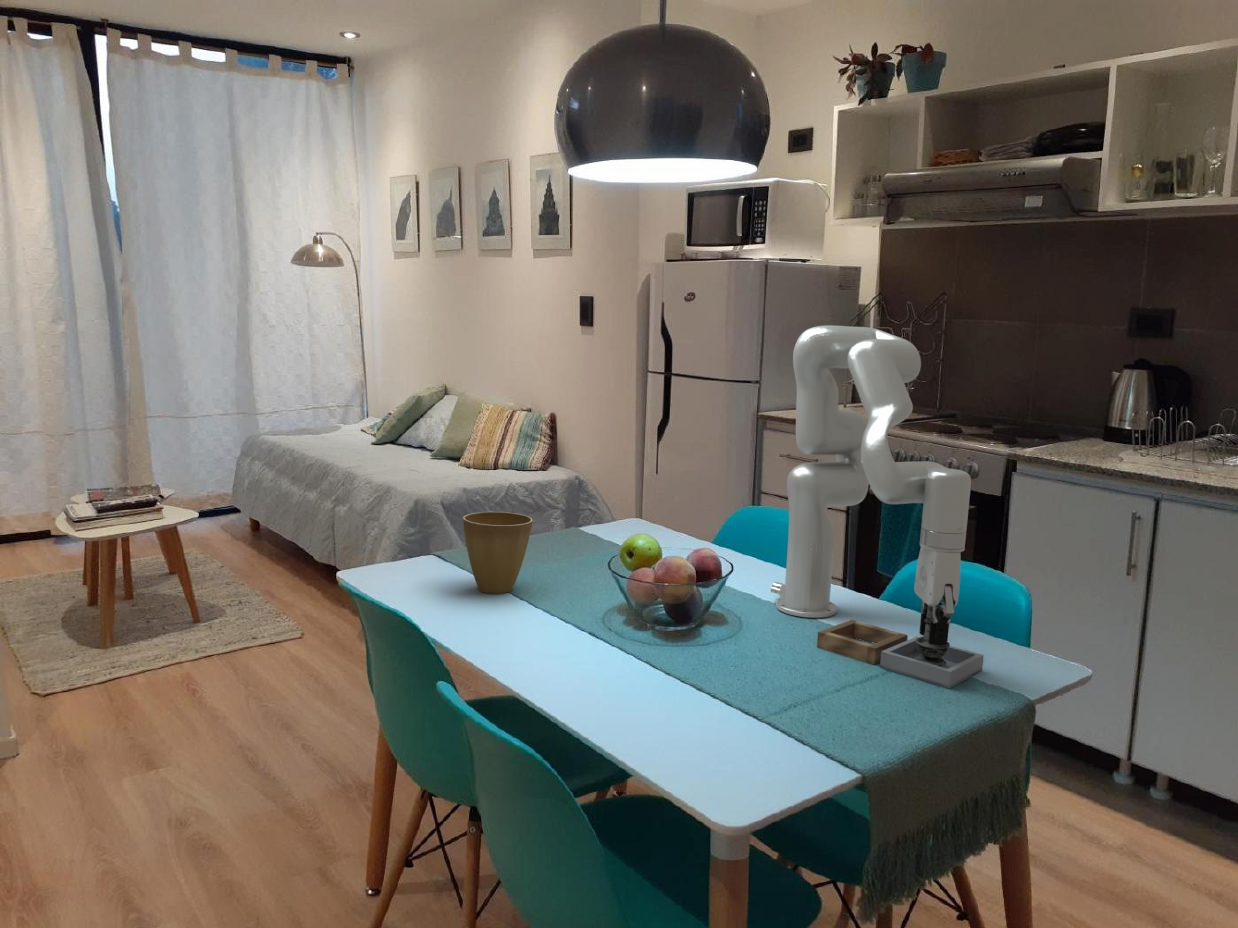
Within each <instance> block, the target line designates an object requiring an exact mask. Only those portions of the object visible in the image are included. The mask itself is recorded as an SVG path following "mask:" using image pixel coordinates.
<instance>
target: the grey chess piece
mask: <svg viewBox="0 0 1238 928" xmlns="http://www.w3.org/2000/svg"><path fill="white" fill-rule="evenodd" d="M938 605H944V603H943V602H939V604H938ZM940 611H943V609H938V613H939V612H940ZM932 619H933V607H930V606H928V609H927V619H925V620H924V622H925V623H926V625H925V632H924V635H922V636H920V637H919V636H918V637H919V638H917V639H916V643H917V648H918V651H919V652H920V653H921V654H922V655H920V656H918V657H916V660H919V661H923V662H926V663H929V664H933V665H936V666H940V667H942V666H945V665H946V661H945V660H943V659H942V658H940V657H942V656H944V655H945V654H946V652H947V649H948V647H949V646H951V643H949V642H947V645H931V644H929V642H928V640H929V629H930V622H933V620H932Z"/></svg>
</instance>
